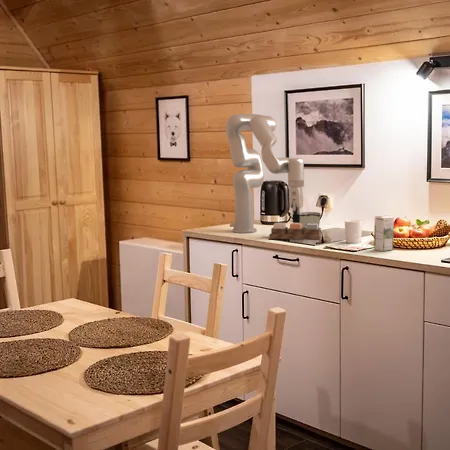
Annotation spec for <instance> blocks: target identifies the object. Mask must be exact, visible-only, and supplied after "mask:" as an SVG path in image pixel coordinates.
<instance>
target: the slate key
mask: <svg viewBox="0 0 450 450" xmlns="http://www.w3.org/2000/svg"><path fill="white" fill-rule="evenodd" d="M319 228H320V223H319V224H311V223H308V224H307V229H319Z"/></svg>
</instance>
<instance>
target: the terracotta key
mask: <svg viewBox="0 0 450 450" xmlns="http://www.w3.org/2000/svg"><path fill="white" fill-rule="evenodd" d="M289 228H290V229H302V223H293V222H291V223H290V224H289Z"/></svg>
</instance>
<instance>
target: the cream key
mask: <svg viewBox="0 0 450 450" xmlns="http://www.w3.org/2000/svg"><path fill="white" fill-rule="evenodd" d="M273 227H274V229H285V228H286V227H287V223H286V222H275V223H273Z"/></svg>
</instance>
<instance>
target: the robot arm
mask: <svg viewBox="0 0 450 450" xmlns="http://www.w3.org/2000/svg"><path fill="white" fill-rule="evenodd" d="M276 127H277V123H276V121H275V119H274V118H273V117H272V116H270V115H262V114H255V113H235V114H232V115H230V116H229V117H228V118H227V120H226V123H225V133H226V134H225V135H226V137H227V140H228V145H229V150H230V151H229V152H230V157H231V160H232V161H231V162H232V165H233V166H234V167H235V168H238V169H239V170H238V171H235V172H234V173H233V176H232V186H233V192H234V222H230V224H229V227H230V228H231V227H232V230H231V231H232V233H239V234H243V233H244V234H246V233H247V234H248V233H249V234H251V233H256V232H258V231H257V230H258V229H257V228H256V227H254V195H253V193H252V190H251V189H254V188H255V189H256V188H260V187H261V186H262V185H263V184H264V181H265V180H264V169H263V164H264V165H265V167H266V169H267V170H268V171H269V172H270V173H271V174H274V175H278V174H287V188H290V189H289V207H290V209H292V223H299V222H300V209H301V208H303V207H304V194H303V193H304V192H303V188H304V187H305V184H304V183H305V174H304V173H305V172H304V169H305V167H304V166H305V165H304V164H305V161H304V159H303V158H300V157H299V158H298V157H292V158H291V157H276V156H275V154H274V152H273V150H272V147H274V145H276V143H277V142H278V139H277V137H276V135H275V133H274V132H275V130H276ZM242 131H244V132H247V131H251V132H252V134H253V136H254V137H255V139H256V140H257V141H258V143H259V145H260V146H261V151H260V152H261V153H259V152H258V151H257V150H256V149H254V148H248V146H247V143H246V142H247V141H246V138H245V136H244V134H243V133H242ZM260 155H261V156H260ZM262 162H263V164H262ZM241 168H243V169H241ZM245 168H247V169H245Z"/></svg>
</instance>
